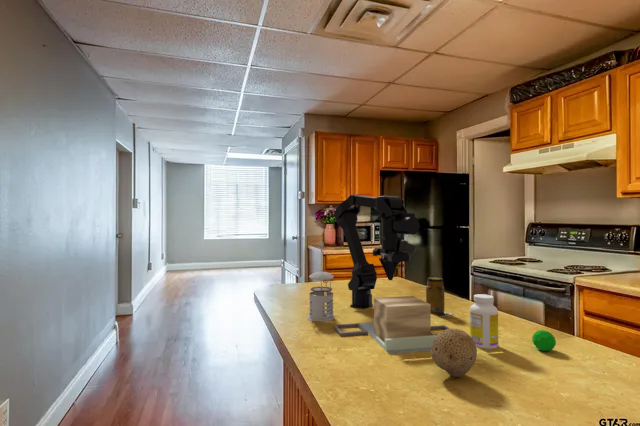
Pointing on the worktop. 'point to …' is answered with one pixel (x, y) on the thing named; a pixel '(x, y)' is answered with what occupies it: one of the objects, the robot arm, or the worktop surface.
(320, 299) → the french press
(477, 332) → the supplement bottle
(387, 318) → the oak block
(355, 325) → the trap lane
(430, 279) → the condiment
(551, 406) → the worktop surface
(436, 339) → the natural sponge
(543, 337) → the polyhedron
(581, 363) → the worktop surface
